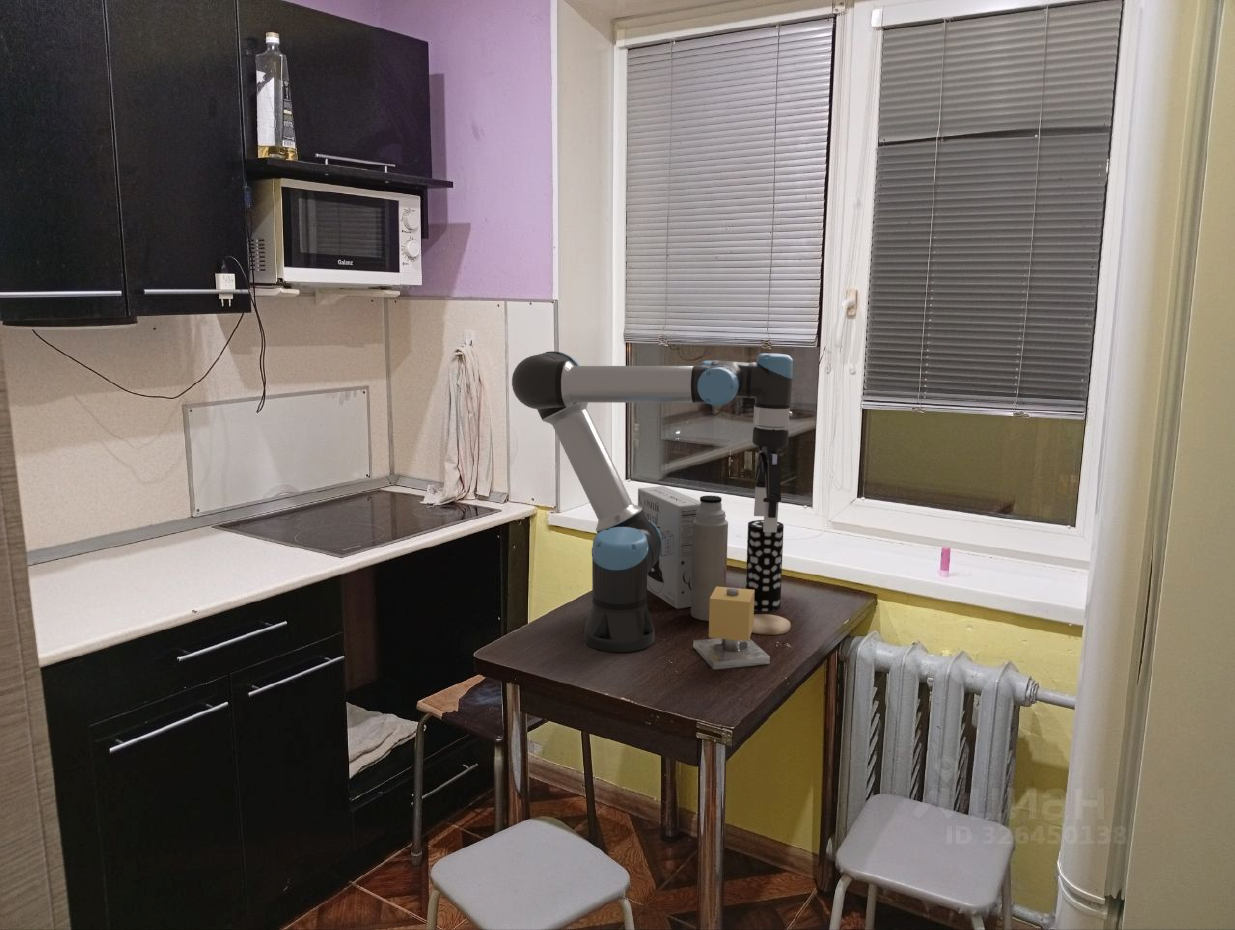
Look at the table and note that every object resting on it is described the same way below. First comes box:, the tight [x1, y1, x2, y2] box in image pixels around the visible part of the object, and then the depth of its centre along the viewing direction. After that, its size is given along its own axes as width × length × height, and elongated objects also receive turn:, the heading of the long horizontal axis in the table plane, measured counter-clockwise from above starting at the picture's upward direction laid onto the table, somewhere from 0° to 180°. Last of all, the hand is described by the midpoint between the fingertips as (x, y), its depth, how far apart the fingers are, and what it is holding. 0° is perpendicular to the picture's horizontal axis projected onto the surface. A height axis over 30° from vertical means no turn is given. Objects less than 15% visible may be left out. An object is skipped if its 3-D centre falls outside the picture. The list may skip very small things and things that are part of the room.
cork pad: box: [751, 613, 792, 636], centre depth 206 cm, size 11×11×1 cm
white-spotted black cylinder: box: [745, 519, 785, 612], centre depth 218 cm, size 8×8×20 cm
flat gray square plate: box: [692, 637, 771, 670], centre depth 188 cm, size 12×12×12 cm
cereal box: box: [637, 485, 701, 610], centre depth 226 cm, size 22×8×25 cm, turn 25°
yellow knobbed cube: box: [708, 586, 755, 641], centre depth 188 cm, size 8×8×9 cm
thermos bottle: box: [690, 495, 729, 622], centre depth 211 cm, size 8×8×28 cm
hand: (764, 523), depth 199 cm, fingers open, 13 cm apart
